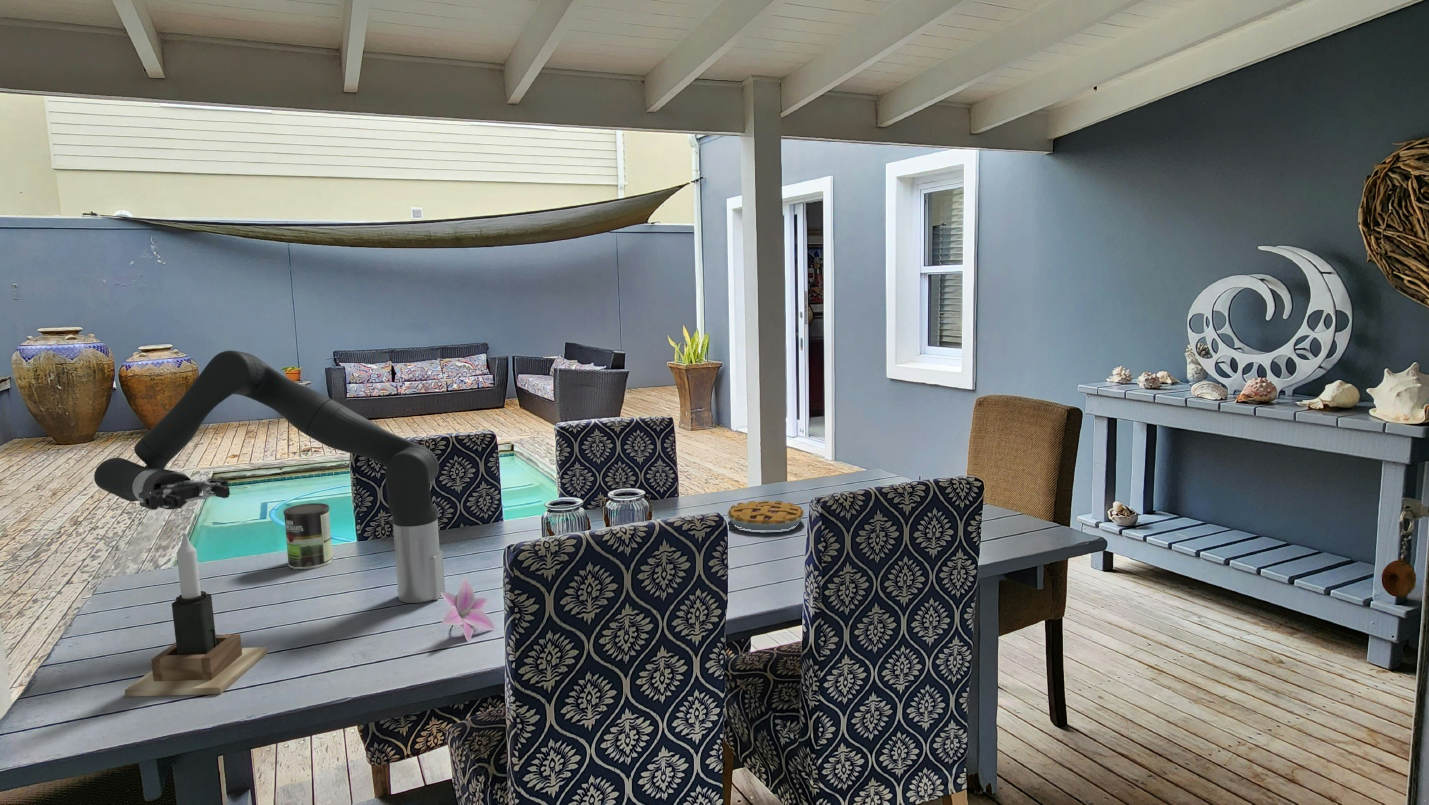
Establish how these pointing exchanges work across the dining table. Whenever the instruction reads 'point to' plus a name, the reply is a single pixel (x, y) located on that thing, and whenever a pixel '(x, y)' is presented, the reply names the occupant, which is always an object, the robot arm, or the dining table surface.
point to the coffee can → (308, 536)
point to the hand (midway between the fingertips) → (203, 497)
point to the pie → (765, 515)
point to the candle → (192, 607)
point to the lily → (466, 610)
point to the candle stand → (197, 669)
